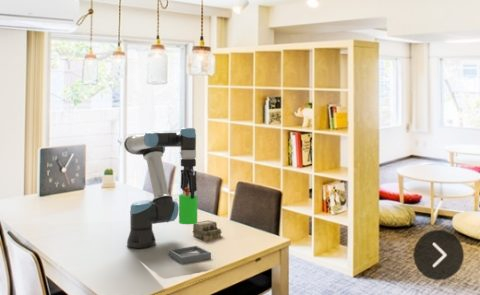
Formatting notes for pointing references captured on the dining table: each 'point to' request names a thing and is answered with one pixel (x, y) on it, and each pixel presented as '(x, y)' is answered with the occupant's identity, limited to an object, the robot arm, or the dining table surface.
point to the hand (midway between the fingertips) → (188, 204)
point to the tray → (189, 254)
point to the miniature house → (206, 230)
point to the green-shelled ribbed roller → (187, 208)
